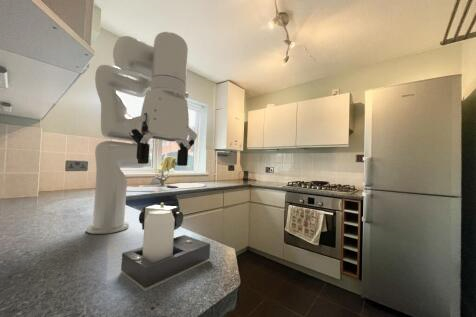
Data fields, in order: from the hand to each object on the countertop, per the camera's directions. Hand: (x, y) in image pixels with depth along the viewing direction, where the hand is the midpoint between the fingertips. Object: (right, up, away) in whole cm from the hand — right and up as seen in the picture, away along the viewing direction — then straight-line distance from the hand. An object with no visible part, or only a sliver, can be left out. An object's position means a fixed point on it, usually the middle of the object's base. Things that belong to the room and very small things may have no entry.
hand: (164, 164), depth 44 cm
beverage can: (-1, -23, -1) cm, 23 cm away
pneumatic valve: (-6, -24, +13) cm, 28 cm away
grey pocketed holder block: (+1, -23, 0) cm, 23 cm away
